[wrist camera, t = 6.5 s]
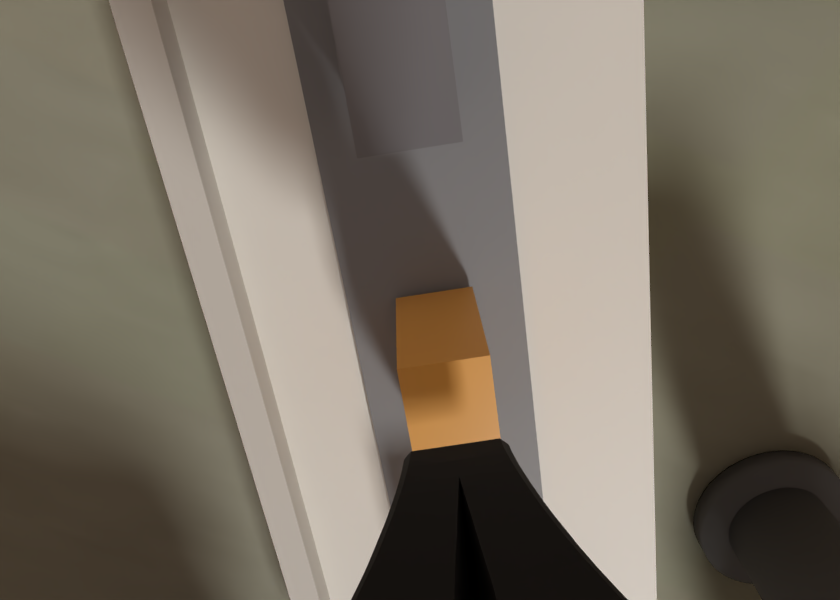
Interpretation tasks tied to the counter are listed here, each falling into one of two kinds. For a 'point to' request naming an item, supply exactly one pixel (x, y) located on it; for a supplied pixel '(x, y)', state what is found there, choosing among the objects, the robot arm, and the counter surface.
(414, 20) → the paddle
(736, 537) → the cord posts
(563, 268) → the long narrow tray
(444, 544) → the robot arm
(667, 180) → the counter surface
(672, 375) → the counter surface
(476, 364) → the orange cuboid brick
